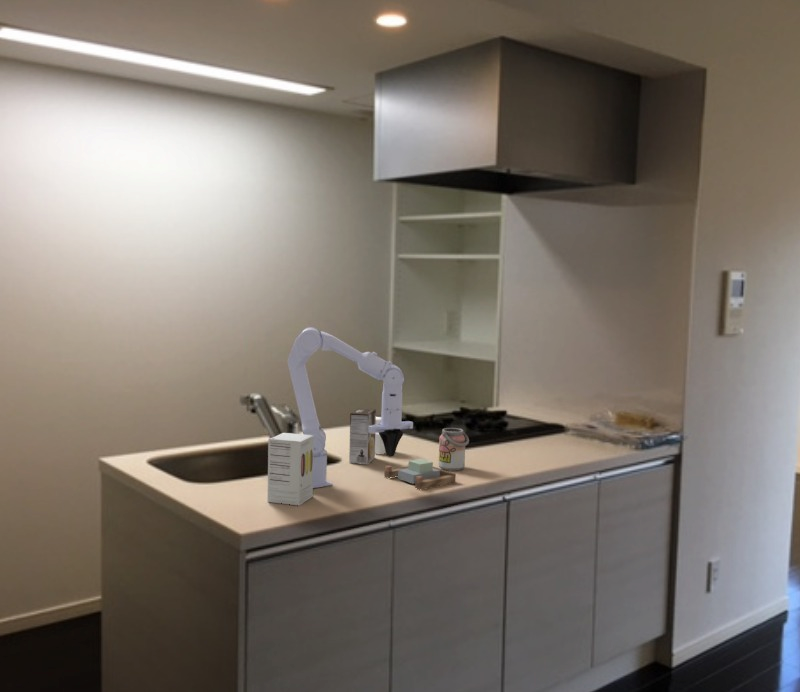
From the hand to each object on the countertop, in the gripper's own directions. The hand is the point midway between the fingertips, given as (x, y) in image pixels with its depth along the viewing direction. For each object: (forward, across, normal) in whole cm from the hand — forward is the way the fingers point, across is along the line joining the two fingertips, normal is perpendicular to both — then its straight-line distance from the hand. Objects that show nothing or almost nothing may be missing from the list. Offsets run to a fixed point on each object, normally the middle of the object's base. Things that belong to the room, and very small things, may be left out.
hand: (390, 455), depth 226 cm
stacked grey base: (+8, +10, -1) cm, 13 cm away
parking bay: (+8, +10, -1) cm, 13 cm away
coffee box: (+9, +10, +27) cm, 30 cm away
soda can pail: (+8, +28, +4) cm, 30 cm away
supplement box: (+9, -31, +3) cm, 32 cm away
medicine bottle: (+9, +22, +34) cm, 42 cm away
